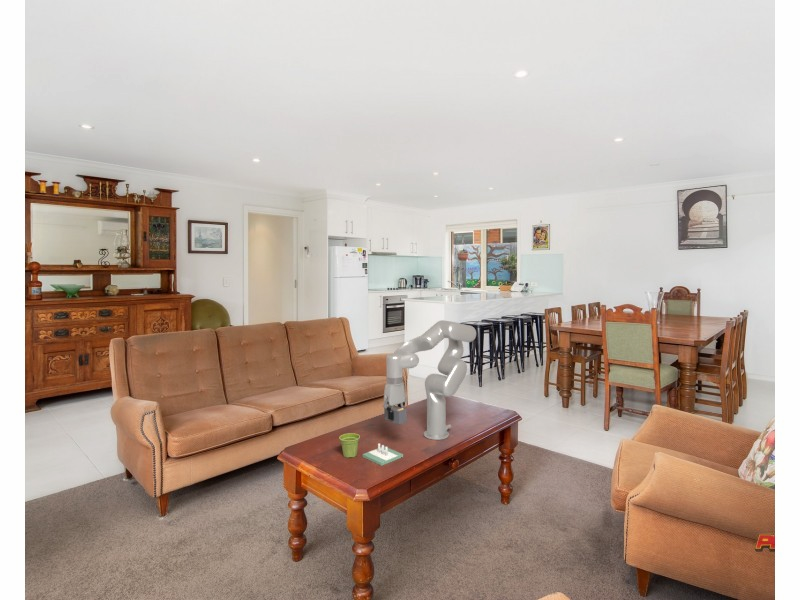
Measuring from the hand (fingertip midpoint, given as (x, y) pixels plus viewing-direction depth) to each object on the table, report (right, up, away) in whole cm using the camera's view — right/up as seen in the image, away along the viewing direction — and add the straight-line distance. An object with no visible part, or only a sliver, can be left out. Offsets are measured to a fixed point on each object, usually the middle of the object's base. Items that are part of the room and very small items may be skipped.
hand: (395, 417), depth 215 cm
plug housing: (0, -1, 0) cm, 1 cm away
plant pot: (-21, -16, -6) cm, 27 cm away
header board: (-6, -16, -8) cm, 19 cm away
